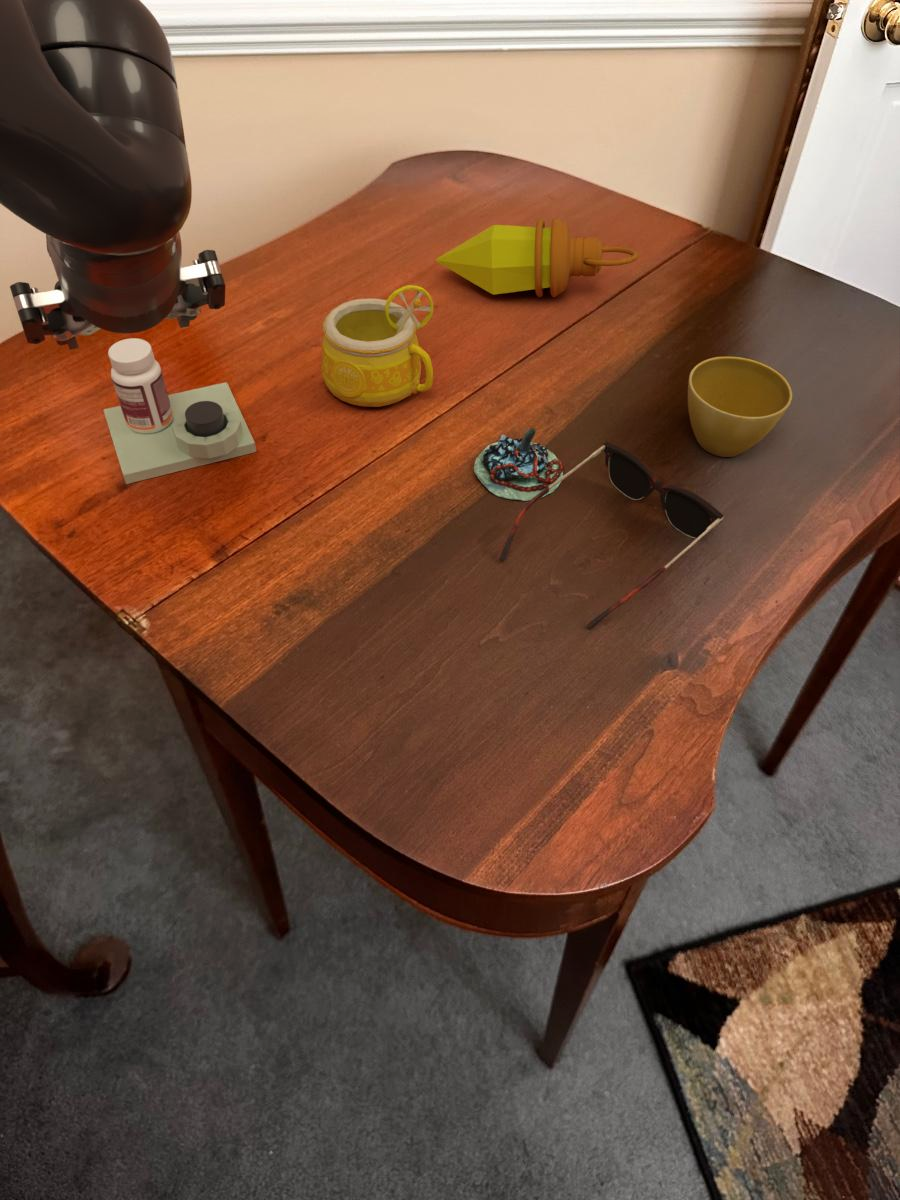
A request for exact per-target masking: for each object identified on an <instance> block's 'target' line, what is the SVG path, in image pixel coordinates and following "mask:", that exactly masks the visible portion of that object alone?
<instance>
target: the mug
mask: <svg viewBox="0 0 900 1200" xmlns="http://www.w3.org/2000/svg"><path fill="white" fill-rule="evenodd" d="M412 290H413V291H417V292H416V294H415V296H414V297H413V299H412V301H411V303H410V305H409V304H408V302H407V300H406V297H405V295H404V292H406V291H412ZM423 295H425V296H426V297H427V298H428V299H429V304H428V305H422V301H421V299H420V298H421V297H422V296H423ZM396 296H399V297H400V299H401V300H402V301H403V303H404V305H405V306H406V307H404V306H402V305H400V304H399V303H395V302H394V301H393V300H394V299H395V297H396ZM434 308H435V307H434V301H433V298H432V296H431V293H429V292H428V291H427V290H426V289H425V288H423V287H422V286H419V285H415V284H409V285H404V286H401V287H400V288H397V289H395V290H394V291H393V292H392V293H391V294H390V295H389V296H388V298H387V299H382V298H375V297H374V298H369V297H368V298H357V299H353V300H349V301H345V302H343V303H341V304H339V305H338V306H335V308H333V309H332V310H331V311H330V312H329V313H328V314H327V315H326V316H325V317H324V319H323V322H322V332H323V337H322V345H321V346H322V347H321V348H322V349H321V375H322V380H323V382H324V384H325V386H326V388H327V389H328V390H329V391H330V392H331V394H332V395H333V396H334V397H336V398H337V399H338V400H340V401H342V402H345V403H347V404H350V405H352V406H359V407H365V408H366V407H368V408H369V407H372V408H379V407H383V406H384V407H386V406H389V405H393V404H396V403H399V402H400V401H403V400H404V399H406V398H407V397H410V396H411V395H412V394H414V395H417V393H419V392H421V393H424V392H426V391H429V390H430V389H431V387H433V381H434V375H435V374H434V368H433V363H432V359H431V356H430V355H429V354H428V353H427V351H425V350H424V349H423V348H422V347H421V346H419V339H418V337H417V330H419V329H421V328H423V327H424V326H425V325H427V324H428V323H429V321H430V320H431V318H432V316H433V314H434V310H435V309H434ZM414 311H420V312H421V311H424V312H428V313H427V315H426V317H425V318H424V319H423V320H422V321H421V322H420V321H419V319H418V318H417V317H416V315H415V313H414ZM421 361H422V362H423V364H424V369H425V381H424V383H421V380H420V379H421V372H422V362H421Z"/></svg>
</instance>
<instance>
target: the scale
mask: <svg viewBox="0 0 900 1200" xmlns="http://www.w3.org/2000/svg"><path fill="white" fill-rule="evenodd" d="M168 397H169V401H170V404H171V408H172V412H173V420H172V422H171V423H170V425H169V426H168V427H166V428H165V429H163V430H161V431H159V432H155V433H150V434H142V433H137V432H134V431H132V430H131V429H130V428H129V427H128V426H127V424H126V421H125V418H124V415H123V412H122V409H121V406H120V405H117V406H112V407H107V408H104V409H103V410H102V411H103V414H104V417H105V420H106V424H107V427H108V430H109V434H110V436H111V440H112V443H113V447H114V450H115V454H116V456H117V460H118V463H119V466H120V470H121V473H122V476H123V480H124V482H125V484H126V485H129V484H133V483H138V482H141V481H145V480H149V479H153V478H158V477H161V476H165V475H169V474H173V473H177V472H181V471H185V470H189V469H193V468H199V467H201V466H205V465H210V464H213V463H217V462H221V461H226V460H230V459H234V458H238V457H242V456H245V455H246V456H247V455H251V454H254V453H257V448H256V447H257V446H256V442H255V440H254V437H253V436H252V433H251V431H250V429H249V427H248V425H247V422H246V420H245V418H244V416H243V414H242V412H241V409H240V407H239V405H238V403H237V401H236V399H235V397H234V394H233V392H232V391H231V387H230V386H229V383H228V382H227V381H225V382H220V383H216V384H211V385H207V386H203V387H198V388H194V389H189V390H185V391H180V392H175V393H171V394H168ZM200 401H212V402H215V403H217V404H219V405H220V406H221V408H222V410H223V415H224V420H225V428H224V429H223V431H221V432H220V433H218V434H217V435H212V436H208V437H198V436H194V435H193V434H191V433H190V431H189V429H188V425H187V421H186V417H185V411H186V409H187V408H188V407H189V406H190V405H192V404H194V403H197V402H200Z"/></svg>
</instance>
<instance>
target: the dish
mask: <svg viewBox="0 0 900 1200" xmlns="http://www.w3.org/2000/svg"><path fill="white" fill-rule="evenodd" d="M536 431H537V430H536V429H535V428H534V427H531V428H529V429H526V430H525V433H524V435H523V437H522V438H513V439H512V438H510V437H509V436H506V435H505V434H501V435H500V437H499V440H498V441H497V442H492V443H491V444H488V445H487V446H486V447H485V448H483V450H482V451H481V452H480V454H478V456H477V457H476V459H475V461H474V464H473V472H474V474H475V476H476V478H477V479H478V480H479V481H480V482H481V484H482V485H483V486H484V487H485V488H486V489H487V490H488V491H489V492H491V493H492V494H493V495H495V496H496V497H499V498H503V499H508V500H519V501H523V502H525V501H527V502H528V501H530V500H531V499H533V498H534V497H535V496H536V495H538V494H539V493H540V492H542V491H543V490H544V489H546V488H547V487H548V486H550V485H551V484H553V483H554V482H556V481H557V480H558V479H560V478H561V477H562V476H564V471H563V469H564V465H563V464H562V461H561V460H559V459H558V458H557V456H556V455H555V454H554V452H552V451H551V450H549V449H548V447H546V446H545V445H542V444H541V443H540V442H537V443H536V442H532V441H533V439H534V436H535V434H536ZM561 484H562V481H561V482H559V483H558V484H557V485H555V486H554V487H553V488H551V489H550V490H549V492H548V493H547V494H545V495H544V496H543V497H541V498H540V499H542V498H544V497H547V496H548V495H550V494H552V493H553V492H555V490H556V489H557V488H559V486H560V485H561Z"/></svg>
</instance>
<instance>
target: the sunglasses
mask: <svg viewBox="0 0 900 1200" xmlns="http://www.w3.org/2000/svg"><path fill="white" fill-rule="evenodd" d="M602 444H603V445H601V446H600V447H599V448H598V449H596V450H595V451H594V452H592V453H591V454H590V455H589V456H588V457H587V458H584V459H583V461H581V462H580V463H579V464H577V465H575V467H573V468H572V469H570V470H569V471H568V472H567V473H565V474H563V476H562V477H561V478H560V479H558V480H557V481H556V482H554V483H553V484H551V485H550V486H548V487H547V488H546V489H544V490H543V491H542V492H540V493H539V494H538V495H536V496H535V497H534V498H533V499H531V500H528V501H527V502H526V504H525V505H524V506H523V507H522V509H521V510H520V511H519V514H518V515H517V517H516V519H515V521H514V523H513V525H512V528H511V529H510V532H509V534H508V537H507V539H506V542H505V544H504V546H503V549H502V551H501V553H500V556H499V560H501V561H504V562H506V560H507V558H508V554H509V550H510V548H511V544H512V542H513V539H514V537H515V535H516V532H517V530H518V528H519V525H520V523H521V521H522V519H523V518H524V515H525V514H526V513H527V512H528V510H529V509H530V508H531V507H532V506H533V505H534V504H535V503H537V501H539V500H540V499H542V498H544V497H545V496H544V495H545V494H547V493H548V492H549V490H550V489H551V488H553V487H554V486H555V485H557V484H558V483H559V482H561V483H562V481H563V480H565V479H566V478H568V476H570V475H571V474H573V473H574V472H576V471H577V470H578V469H579V468H581V467H582V466H583V465H585V464H586V463H587V462H588V461H590V460H591V459H594V458H595V457H597V456H599V454H601V453H603V452H604V454H605V457H604V466H605V467H606V468H608V477H609V480H610V482H611V484H612V485H613V486H614V487H615V488H616V489H617V491H619V492H620V493H621V494H622V495H624V496H625V497H627V498H628V499H631V500H633V501H640V500H642V499H643V498H648V497H649V496H650V495H651V494H652V493H653V492H654V491H655V490H656V491H657V492H658V493H659V497H660V505H661V509H662V510H663V511H665V514H666V517H667V519H668V521H669V523H670V524H671V526H672V527H673V528H675V529H676V530H677V531H678V532H680V533H682V534H683V535H685V536H687V537H689V538H692V539H694V540H693V541H692V542H691V543H690V544H688V545H687V546H686V547H685V548H684V549H683V550H681V551H680V552H679V553H678V554H677V555H675V556H674V557H673V558H672V559H671V560H670V561H669V562H668V563H666V564H665V565H664V566H661V567H659V569H657V570H656V571H655V572H653V574H652V575H650V576H649V577H648V578H647V579H645V580H644V581H643V582H641V584H639V585H637V586H636V587H635V588H633V589H632V590H630V591H629V592H627V594H626V595H624V596H623V597H621V598H620V599H618V600H617V601H616V602H615V603H613V604H612V605H610V607H608V608H607V609H606V610H604V611H603V612H602V613H600V614H599V615H597V616H596V617H595V618H593V619H592V620H591V621H590V622H588V623H587V627H588V628H589V629H590V630H592V629H594V628H595V627H596V626H597V625H599V624H600V623H601V622H602V621H603V620H604V619H605V618H606V617H607V616H608V615H610V614H611V613H613V612H614V611H615V610H617V609H618V608H619V607H621V606H622V605H624V603H626V602H627V601H628V600H630V599H631V598H633V597H634V596H635V595H636V594H637V593H639V592H641V591H642V590H643V589H645V588H646V587H647V586H649V585H650V584H652V582H654V581H655V580H656V579H658V577H660V576H661V575H662V574H663V573H664V572H665V571H666V570H667V569H668V568H669V567H670V566H671V565H672V564H674V563H675V562H676V561H677V560H678V559H679V558H681V557H682V556H683V555H684V554H685V553H687V551H689V550H690V549H691V548H692V547H693V546H694V545H695V544H697V542H699V541H700V540H701V539H702V538H703V537H704V536H705V535H706V534H709V533H711V532H712V531H713V529H714V528H715V527H716V526H717V525H719V524H720V523H722V522H723V519H724V518H725V515H724V514H723V513H722V512H720V511H719V510H718V509H717V508H716V507H715V506H713V504H711V503H709V502H708V501H707V500H705V499H704V498H702V497H701V496H699V495H697V493H695V492H692V491H690V490H688V489H686V488H683V487H682V486H678V485H675V484H666V483H663V482H662V481H660V480H659V478H657V475H656V474H655V473H654V472H653V470H651V468H650V467H649V466H647V464H646V463H644V462H643V461H642V460H641V459H640V458H638V457H637V456H636V455H634V454H633V453H631V452H630V451H628V450H626V449H624V448H622V447H620V446H619V445H616V444H614V443H612V442H609V441H605V442H604V443H602ZM543 496H544V497H543ZM541 497H542V498H541Z"/></svg>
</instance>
